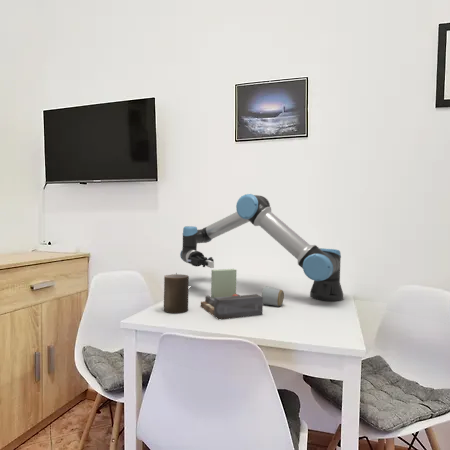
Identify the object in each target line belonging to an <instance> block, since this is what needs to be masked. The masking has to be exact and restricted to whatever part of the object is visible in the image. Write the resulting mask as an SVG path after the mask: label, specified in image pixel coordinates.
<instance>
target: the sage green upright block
mask: <svg viewBox="0 0 450 450" xmlns="http://www.w3.org/2000/svg"><path fill="white" fill-rule="evenodd" d="M237 271H238V270H237V269H235V268H223V269H211V273H210V275H211V278H210V279H211V280H210V281H211V282H210V283H211V285H210V291H211V292H210V297H212V298H213V299H214V298H215V297H228V296H232V295H233V294H237Z"/></svg>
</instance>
